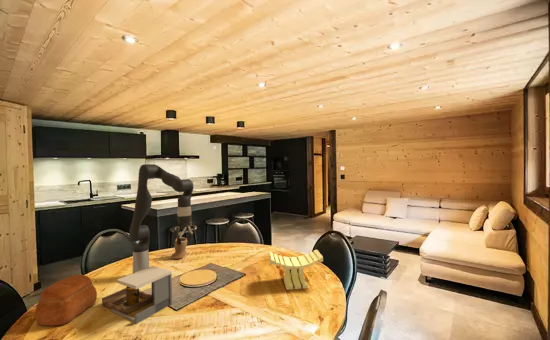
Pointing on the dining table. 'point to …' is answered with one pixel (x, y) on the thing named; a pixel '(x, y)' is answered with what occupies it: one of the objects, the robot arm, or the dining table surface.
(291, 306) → the dining table surface
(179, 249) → the brown boot
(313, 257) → the slatted curved stool
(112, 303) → the tray
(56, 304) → the bread
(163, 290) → the grey coffee machine
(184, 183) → the robot arm
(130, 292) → the condiment
